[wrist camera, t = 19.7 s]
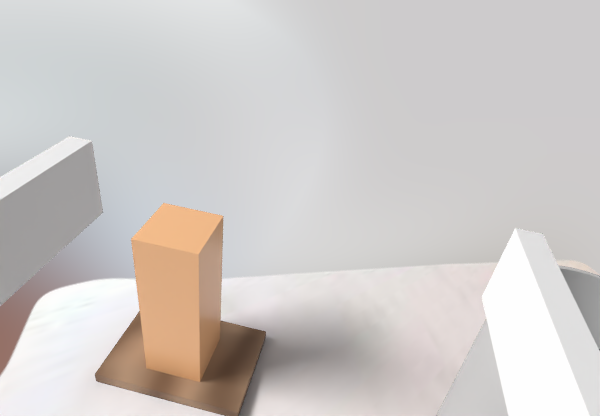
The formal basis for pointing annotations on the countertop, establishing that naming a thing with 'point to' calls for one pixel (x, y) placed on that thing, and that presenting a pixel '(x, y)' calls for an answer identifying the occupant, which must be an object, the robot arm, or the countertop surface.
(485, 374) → the cylinder vase
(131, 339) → the post board
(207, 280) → the tall wooden block
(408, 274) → the countertop surface
